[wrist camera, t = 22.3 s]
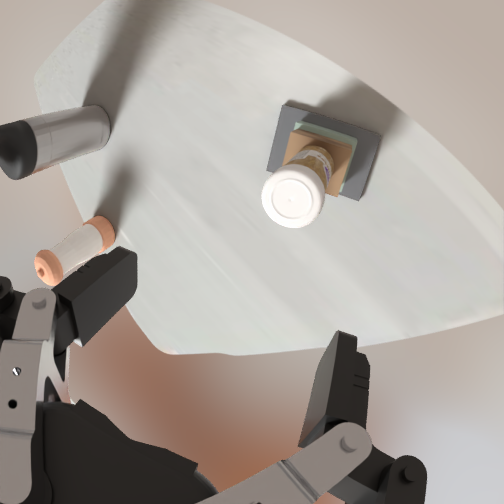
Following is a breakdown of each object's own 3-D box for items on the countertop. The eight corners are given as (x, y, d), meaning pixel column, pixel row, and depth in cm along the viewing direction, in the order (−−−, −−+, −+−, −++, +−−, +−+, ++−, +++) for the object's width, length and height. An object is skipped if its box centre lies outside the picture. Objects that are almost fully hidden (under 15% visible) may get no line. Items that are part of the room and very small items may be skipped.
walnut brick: (287, 169, 39) (279, 178, 35) (298, 128, 37) (290, 131, 32) (339, 186, 38) (337, 197, 34) (352, 145, 36) (352, 151, 31)
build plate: (268, 169, 45) (258, 176, 41) (283, 104, 40) (275, 105, 36) (358, 199, 43) (359, 210, 39) (380, 135, 38) (383, 138, 34)
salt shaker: (90, 237, 64) (29, 280, 48) (92, 210, 60) (25, 250, 44) (113, 251, 63) (52, 299, 47) (116, 223, 60) (49, 269, 43)
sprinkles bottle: (340, 175, 33) (333, 217, 22) (304, 189, 35) (277, 238, 24) (323, 137, 32) (306, 158, 20) (286, 153, 34) (249, 183, 22)
